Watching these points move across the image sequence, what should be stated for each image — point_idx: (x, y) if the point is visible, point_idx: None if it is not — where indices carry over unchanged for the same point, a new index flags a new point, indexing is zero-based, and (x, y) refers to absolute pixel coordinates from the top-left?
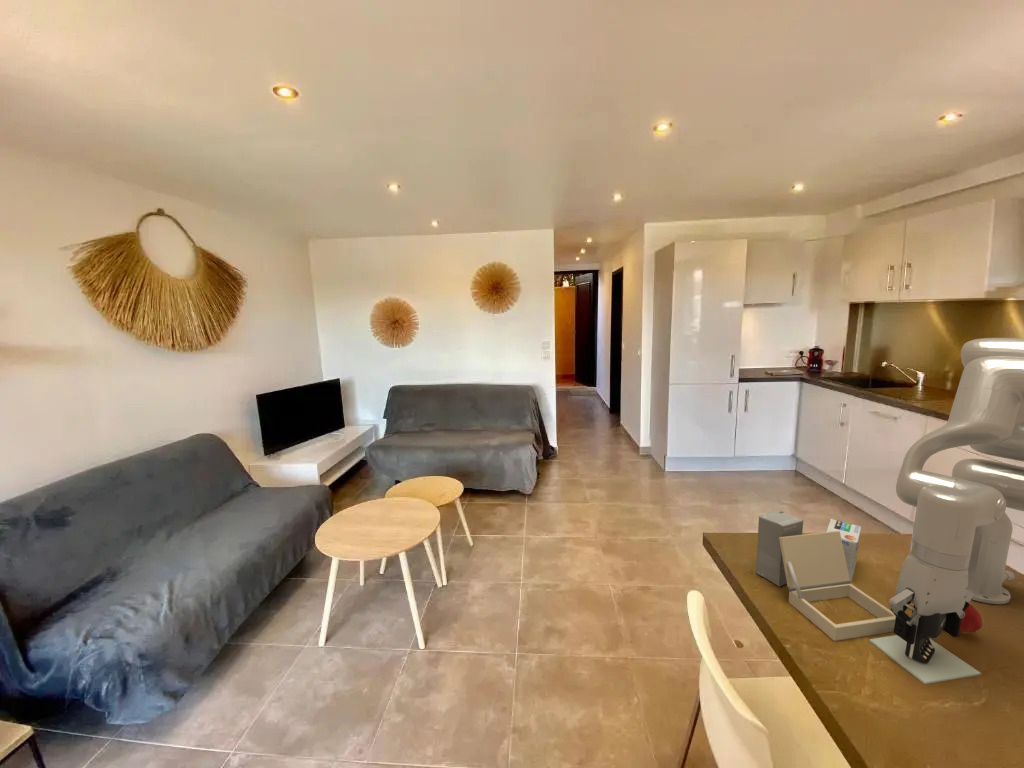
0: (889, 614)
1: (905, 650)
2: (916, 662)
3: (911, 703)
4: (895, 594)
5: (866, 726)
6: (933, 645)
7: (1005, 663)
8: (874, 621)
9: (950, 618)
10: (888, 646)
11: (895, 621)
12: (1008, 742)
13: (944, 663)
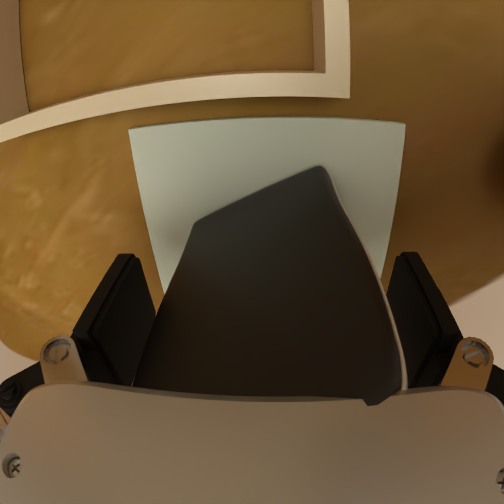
0: (323, 46)
1: (191, 230)
2: None
3: None
4: (5, 430)
5: (10, 325)
6: (371, 194)
7: (481, 275)
8: (155, 101)
9: (410, 363)
10: (173, 172)
11: (94, 295)
12: None
13: None
